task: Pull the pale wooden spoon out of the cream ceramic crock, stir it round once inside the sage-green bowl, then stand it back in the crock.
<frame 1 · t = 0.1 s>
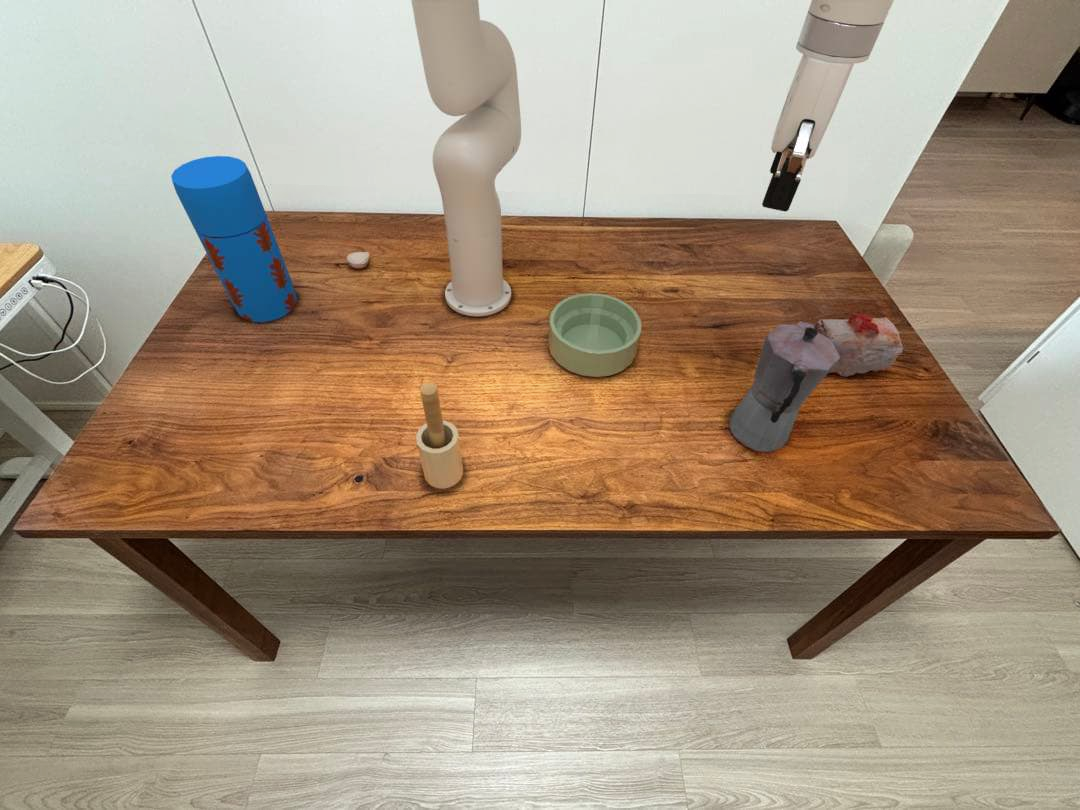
hand: (778, 190, 70), 31 cm above the table, tool pointing down, fingers open, 9 cm apart
moka pot: (757, 433, 83), on the table
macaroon: (361, 264, 109), on the table
food item: (838, 364, 94), on the table
bowl: (591, 347, 95), on the table
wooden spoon: (443, 472, 76), point 1 cm above the table, touching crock
thermos: (268, 304, 100), on the table
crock: (444, 474, 76), on the table
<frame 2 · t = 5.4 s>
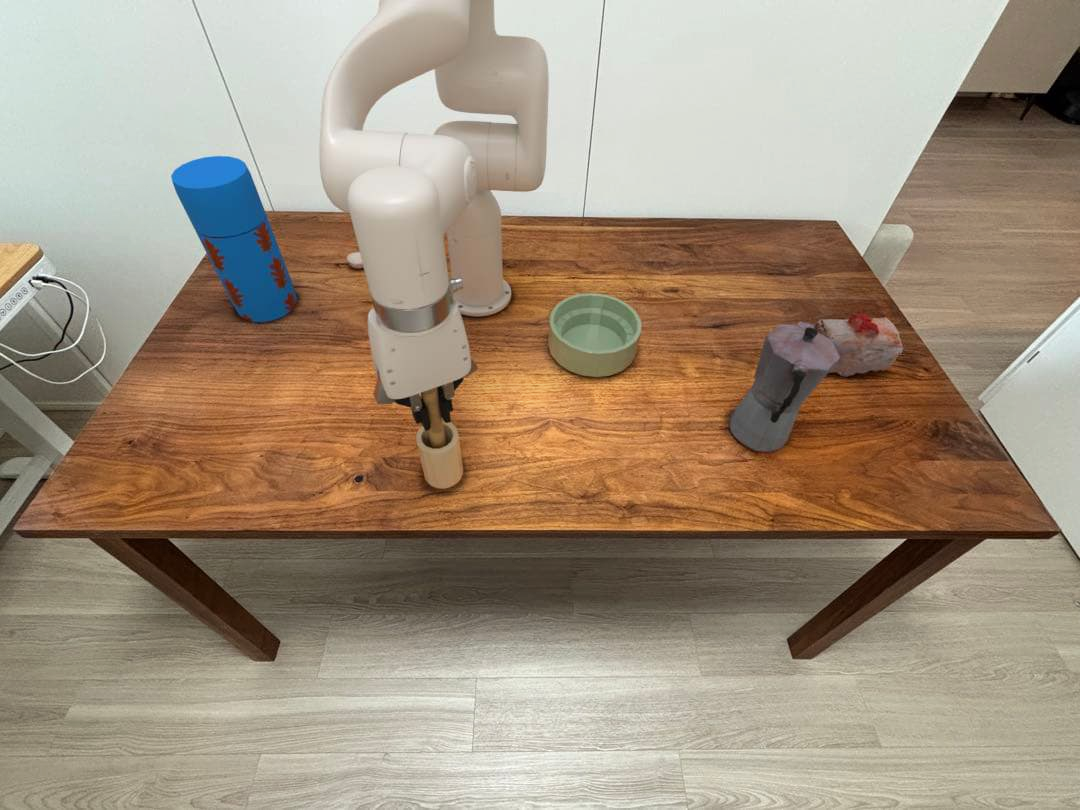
hand: (433, 418, 67), 13 cm above the table, tool pointing down, fingers closed on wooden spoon, 2 cm apart
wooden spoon: (443, 472, 76), point 1 cm above the table, touching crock, gripper
everything else where it was.
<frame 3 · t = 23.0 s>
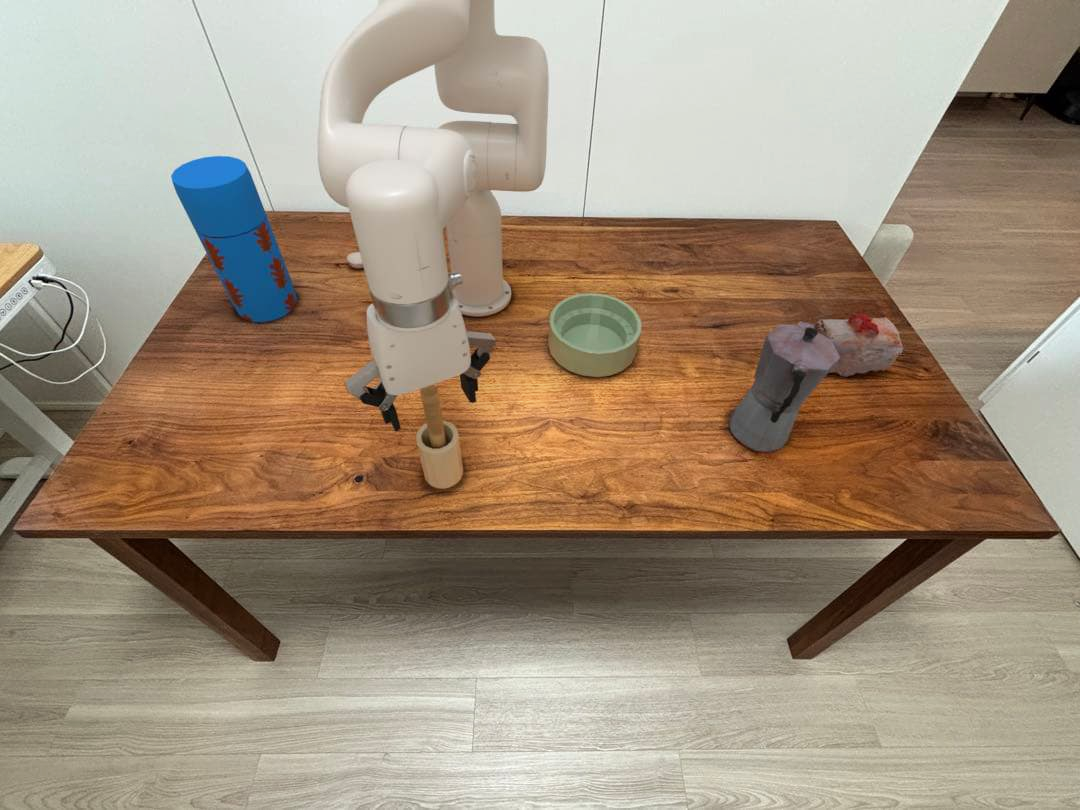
hand: (432, 408, 65), 14 cm above the table, tool pointing down, fingers open, 9 cm apart
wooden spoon: (444, 473, 76), point 1 cm above the table, touching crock
everything else where it was.
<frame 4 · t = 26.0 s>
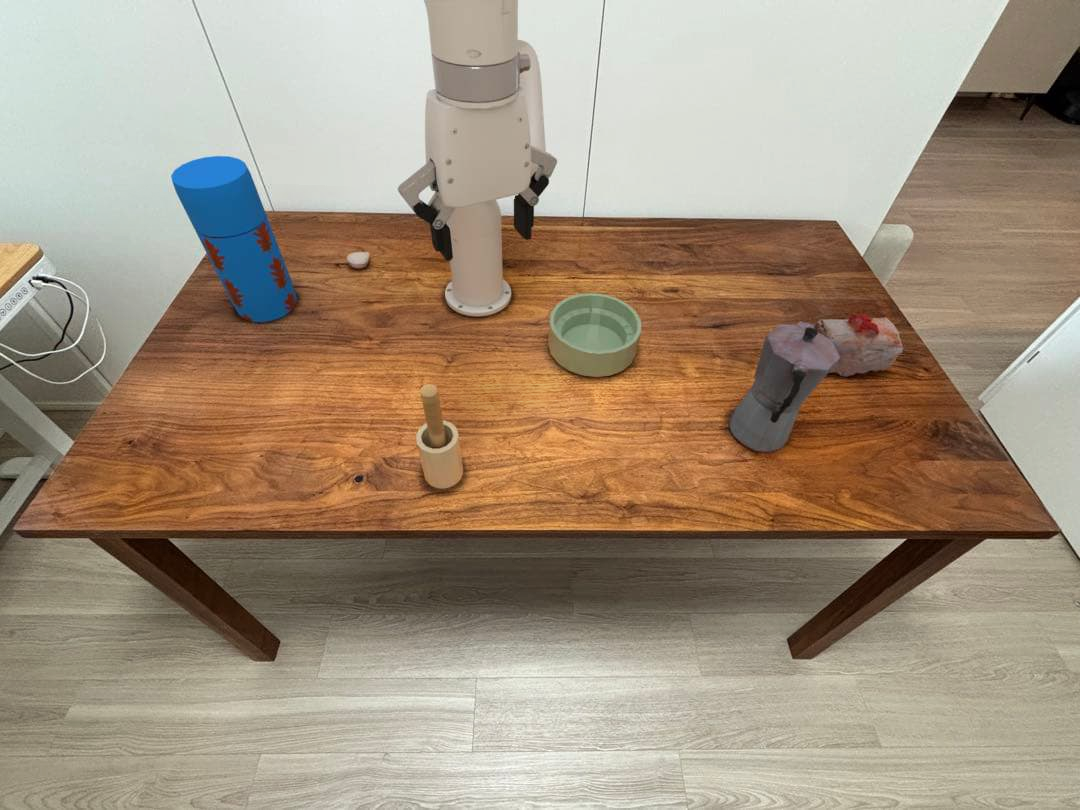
hand: (484, 243, 61), 30 cm above the table, tool pointing down, fingers open, 9 cm apart
nothing on the table moved.
at the end: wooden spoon 0.3 cm off-centre in the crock, point 0.6 cm above the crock's base; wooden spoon tilted 0°; bowl moved 0.0 cm from its start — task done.
